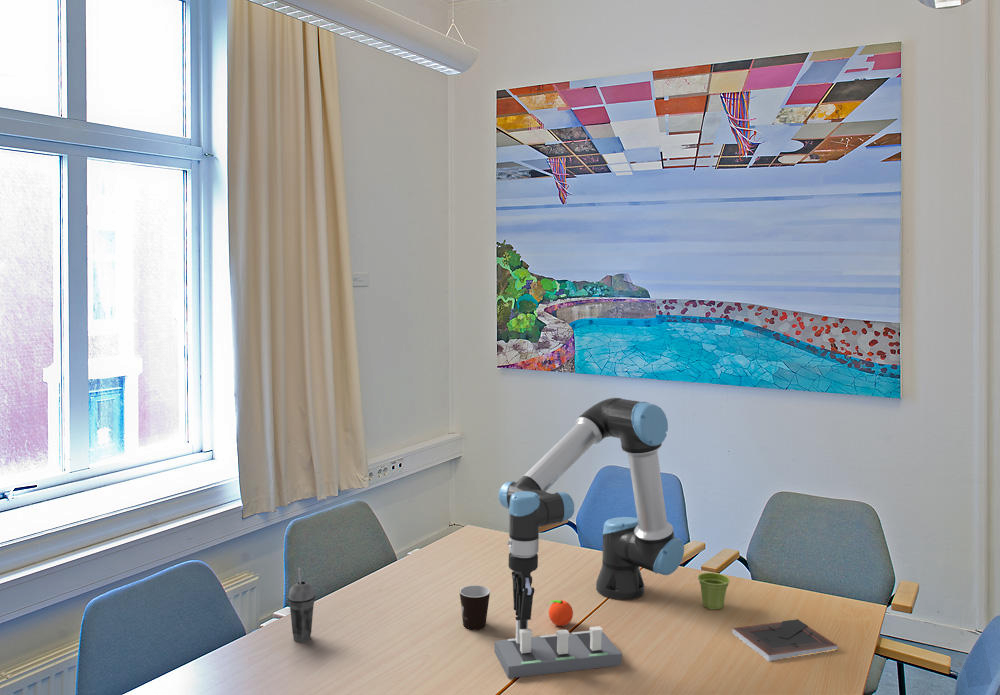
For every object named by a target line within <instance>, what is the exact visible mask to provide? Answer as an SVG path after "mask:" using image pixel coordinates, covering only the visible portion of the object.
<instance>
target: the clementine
mask: <svg viewBox="0 0 1000 695" xmlns="http://www.w3.org/2000/svg"><path fill="white" fill-rule="evenodd" d="M550 603H552V604H550ZM548 604H550V607H549V609H548V617H549V619H550V621H551V622H552V623H553V624H554V625H556V626H558V627H564V626H566V625H568V624H570V622H572V619H573V617H574V611H573V607H572V605H571V604H570V603H569V602H568V601H566V600H563V599H555V600H551V601H548V603H547V605H548Z"/></svg>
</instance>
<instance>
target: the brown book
mask: <svg viewBox="0 0 1000 695" xmlns="http://www.w3.org/2000/svg"><path fill="white" fill-rule="evenodd" d="M731 632H732V633H733V634H732V635H734V636H735V637H736V638H737V637H738V639H739V640H740V641H741V640H742V642H743V643H744V644H745V643H746V644H745V645H747V646H748V647H749V648H750V649H752V650H753V651H755V652H756V653H757V652H758V653H759V655H760V656H761V657H762V656H763V658H764V659H765V660H766V661H768V662H773V661H772V660H774V661H778V660H777V659H781V658H787V657H792V656H798V655H803V654H809V653H816V652H822V651H827V650H832V649H838V648H839V646H838V644H836V643H834V642H833V641H832V640H830V639H828V638H827V637H825V636H823V634H821V633H819V632H817V631H816V630H814V628H811V627H810V626H809V625H807V624H806V623H804V622H803V621H801V620H800V619H798V618H797V619H789V620H782V621H778V622H769V623H762V624H754V625H753V624H752V625H748V626H747V625H746V626H739V627H732V631H731ZM838 650H839V649H838ZM758 653H757V654H758ZM781 660H782V659H781Z"/></svg>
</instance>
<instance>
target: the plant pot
mask: <svg viewBox="0 0 1000 695" xmlns="http://www.w3.org/2000/svg"><path fill="white" fill-rule="evenodd" d="M697 579H698V581H699V586H700V591H701V592H700V593H701V602H702V606H703V607H705V608H707V609H708V608H709V610H713V609H714V611H715V610H718V609H723V608H724V604H725V599H726V593H727V589H728V586H729V584H730V581H731V580H730V577H728V576H727V575H724V574H721V573H716V572H704V573H700V574H698V576H697Z"/></svg>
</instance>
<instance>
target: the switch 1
mask: <svg viewBox="0 0 1000 695" xmlns="http://www.w3.org/2000/svg"><path fill="white" fill-rule="evenodd" d="M519 633H520V651H521V653H530V652H531V637H533V631H532V629H531V628H528V629H519Z"/></svg>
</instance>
